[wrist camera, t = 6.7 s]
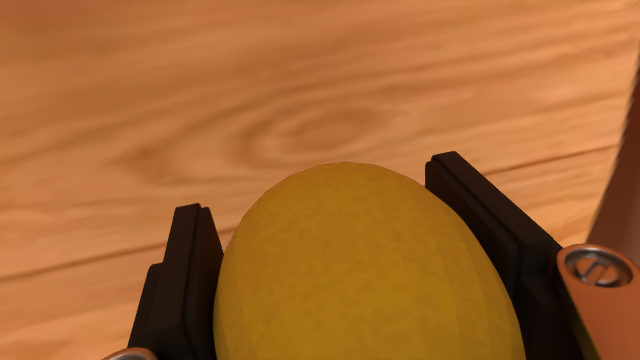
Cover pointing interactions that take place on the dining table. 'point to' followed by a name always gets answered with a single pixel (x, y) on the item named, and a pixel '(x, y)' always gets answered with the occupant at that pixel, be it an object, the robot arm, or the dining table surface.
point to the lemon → (359, 276)
